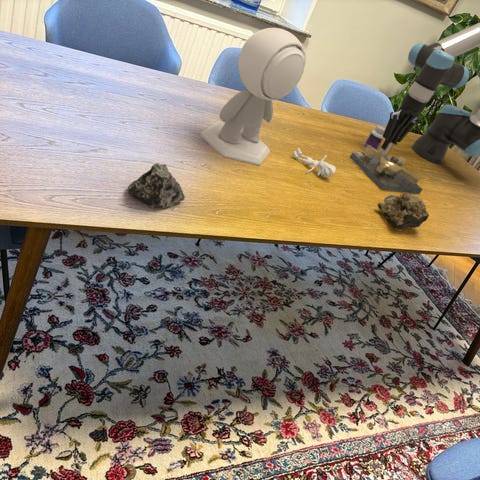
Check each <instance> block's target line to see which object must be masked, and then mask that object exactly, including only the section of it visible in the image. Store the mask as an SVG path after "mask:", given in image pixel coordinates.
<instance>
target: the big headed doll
mask: <svg viewBox="0 0 480 480" xmlns="http://www.w3.org/2000/svg"><path fill="white" fill-rule="evenodd" d="M237 67H238V73H239V77H240V79H241V82H242V83H243V86H245V88H246V89H243V90H241V91H239V92H237V93H236V94H234V95H233V96H232V97H231V98H230V99H228V101H226V103H225V105H224V106H223V107H222V109H221V110H220V113H219V120H221V121H218V120H217V121H214V122H213V123H212V124H210V125H208V126H207V127H206V128H205V129H204V130H202V131H201V132H200V133H199V136H200V137H201V138H202V139H203V140H204V141H205V142H206V143H207V144H208V145H209V146H210V147H212V148H213V149H214V150H215V151H216V152H217V153H218V154H219V155H221V157H223V158H227V159H230V160H234V161H239V162H242V163H246V164H251V165H253V166H260V165H261V164H262V163H263V162H264V161H265V160H266V158H267V156H269V154H270V152H271V151H270V148H269V146H267V145H266V144H265V143H264V142H263V141H262V140H260V137H259V136H260V132H261V129H262V128H261V127H262V124H263V120H264V121H265V122H266V123H271V121H272V119H273V116H274V104H273V101H278V100H281V98H283V97H285V96H287V95H288V94H290V93H291V92H292V91H293V90H294V89H295V88H296V87H297V85H298V84H299V83H300V81H301V79H302V77H303V75H304V69H305V67H306V51H305V49H304V46H303V44H302V43H301V41H300V40H299V39H298V38H297V37H296V35H294V34H293V33H291V32H290V31H288V30H286V29H283V28H279V27H266V28H263V29H260V30H258V31H256V32H255V33H253V34H252V35H251V36H250V37H249V38H248V39H247V40H246V41H245V42H244V44H243V46H242V47H241V50H240V53H239V56H238V63H237Z"/></svg>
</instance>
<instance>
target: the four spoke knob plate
mask: <svg viewBox="0 0 480 480" xmlns="http://www.w3.org/2000/svg"><path fill="white" fill-rule="evenodd" d="M364 152H365V153H368V154H369V155H371V156H373V157H375V158H376V159H378V160H379V162H378V164H377V166H378V167H377V169H376V170H377V171H378V172H380V173H382V172H384V173H386V174H388V175H391V176H397V175H398V174H400V175H401V176H403V177H404V178H406V179H407V180H409V181H410V182H412V183H413V184H417V185H418V183H419V181H420V180H421V179H420V178H419V177H418V176H417V175H415V174H413V173H412V172H410V171H409V170H407V169H406V168H404V167H403V164H405V162H406V161H407V158H404V157H403V156H399V157H396V156H389V155H383V154H382V153H380V152H379V150H378V149H377V150H376V149H374V148H373V147H372V146H370V145H368V146H367V147H366V149H364Z"/></svg>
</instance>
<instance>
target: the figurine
mask: <svg viewBox="0 0 480 480" xmlns="http://www.w3.org/2000/svg"><path fill="white" fill-rule="evenodd" d="M292 153H293V154H292V158H293V159H297V160H298V161H302V162H303V163H305V165H308V166H312V168H311V169H309V170H307V169H306V173H305V174H309V173H310V172H311V171H313V170H314V169H317V168H318V170H317V176H320V175H321V177H322V178H323V177H324V178H326V177H327V178H330V177H332V176H334V174H335V173H336V170H337V167H336V166H334V165H333V164H330V163H328V162H327V161H324V160H325V159H326V158H327V157H328V155H327V154H324V157H323V158H322V159H321V160H318V159H313V158H312V157H309V156H306V155H303V152H302V151H301V149H300V147H298V148H297V150H294V151H293V152H292ZM299 156H300V157H299Z"/></svg>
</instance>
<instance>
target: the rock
mask: <svg viewBox="0 0 480 480" xmlns="http://www.w3.org/2000/svg"><path fill="white" fill-rule="evenodd" d="M150 167H151V168H150V169H149V170H148V171H146V172H144V173H143V174H141V175H139V177H138V179H135V180H133V181H132V182H131V183H130V184H129V185H128V186H127V189H128V190H127V192H128V193H129V194H130V195H131V196H132V197H134V198H136V199H138V200H141V202H143V203H145V204H146V205H147V206H148V207H151V208H155V207H158V208H161V209H165V208H171V207H172V206H175V204H176V203H178V204H179V203H181V202H184V200H185V198H186V197H185V194H184V192H183V189H182V187H181V184H180V183H179V182H178V181H177V179H176V178H175V177H174V176H173V174H172V173H171V172H169V169H168V165H167V163H166V164H159V163H157V162H156V163H154V164H153V165H152V166H150Z"/></svg>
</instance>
